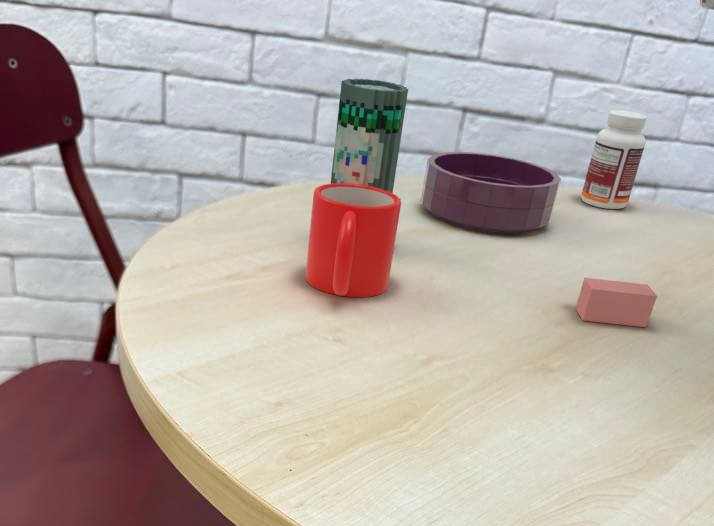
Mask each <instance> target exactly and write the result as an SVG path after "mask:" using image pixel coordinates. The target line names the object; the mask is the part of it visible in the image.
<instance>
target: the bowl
mask: <svg viewBox="0 0 714 526" xmlns="http://www.w3.org/2000/svg"><path fill="white" fill-rule="evenodd" d="M423 179H424V180H423V183H422V184H423V185H422V190H421V196H420V201H421V205H422V206H423V207H424V208H425V209H426V210H427V211H429V213H430V214H431V215H432V216H433V217H434V218H437V219H438V220H440V221H442V222H444V223H446V224H450V225H452V226H455V227H458V228H462V229H466V230H469V231H470V230H471V231H476V232H481V233H489V234H496V235H497V234H498V235H520V234H521V235H522V234H528V233H531V232H534V231H537V230H538V229H540V228H543V227H545V226H547V225H549V224H550V222H551V220H552V215H553V212H554V208H555V204H556V200H557V196H558V193H559V189H560V185H561V181H562V178H561V177H560V176H559V175H558V174H557V173H556V172H555V171H552V170H551V169H549V168H547V167H545V166H543V165H539V164H537V163H533V162H531V161H526V160H523V159H518V158H515V157H509V156H504V155H498V154H492V153H484V152H483V153H482V152H471V151H451V152H449V151H448V152H440V153H436V154H432V155H431V156H429V157H428V158H427V161H426V166H425V171H424V178H423Z"/></svg>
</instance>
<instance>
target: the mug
mask: <svg viewBox="0 0 714 526" xmlns="http://www.w3.org/2000/svg"><path fill="white" fill-rule="evenodd" d="M401 206H402V200H401V198H400V197H399V196H398V195H397V194H395V193H394V192H393V193H391V192H389V191H386V190H383V189H380V188H376V187H372V186H367V185H360V184H350V183H333V184H331V183H325V184H322V185H319V186H317V187H315V189H314V190H313V195H312V206H311V216H310V227H309V235H308V236H309V237H308V247H307V255H306V257H307V259H306V266H305V281H306V283H308V284H309V286H312V287H313V288H314V289H317V290H319V291H321V292H325V293H327V294H331V295H334V296H341V297H347V298H348V297H349V298H369V297H374V296H378V295H382V294H383V293H385V292H386V291H387V290H388V288H389V283H390V277H391V269H392V265H393V264H392V263H393V258H394V250H395V245H396V239H397V232H398V226H399V221H400V213H401V208H402V207H401Z"/></svg>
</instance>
